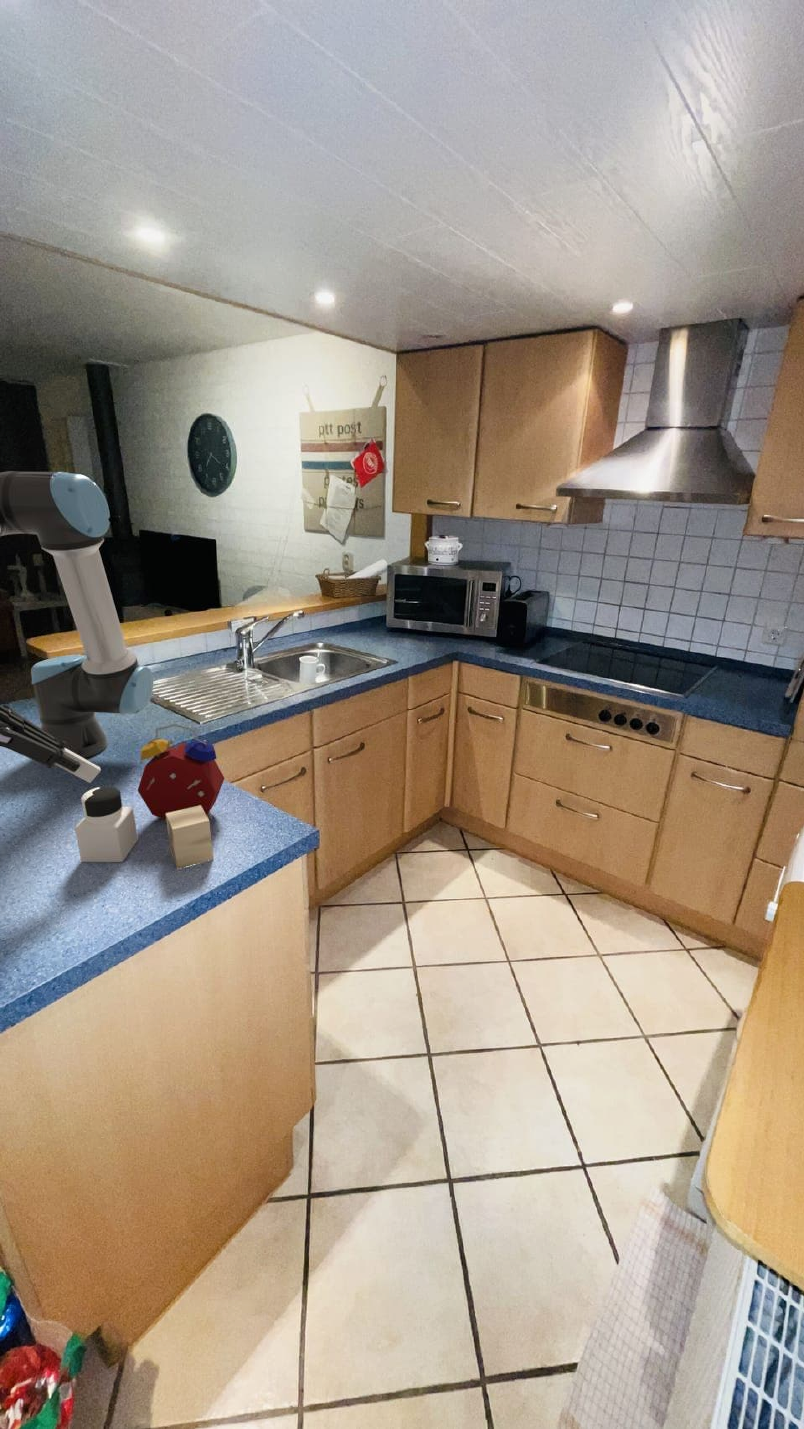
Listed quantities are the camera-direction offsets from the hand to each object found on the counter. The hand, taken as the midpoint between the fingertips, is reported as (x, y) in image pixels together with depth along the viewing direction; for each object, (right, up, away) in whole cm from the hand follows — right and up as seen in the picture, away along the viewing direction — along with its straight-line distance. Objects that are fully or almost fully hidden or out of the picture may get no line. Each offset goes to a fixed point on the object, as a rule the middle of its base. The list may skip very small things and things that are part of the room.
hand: (94, 775), depth 99 cm
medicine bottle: (0, -14, +6) cm, 15 cm away
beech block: (+15, -15, +5) cm, 22 cm away
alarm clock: (+9, -11, +16) cm, 21 cm away
